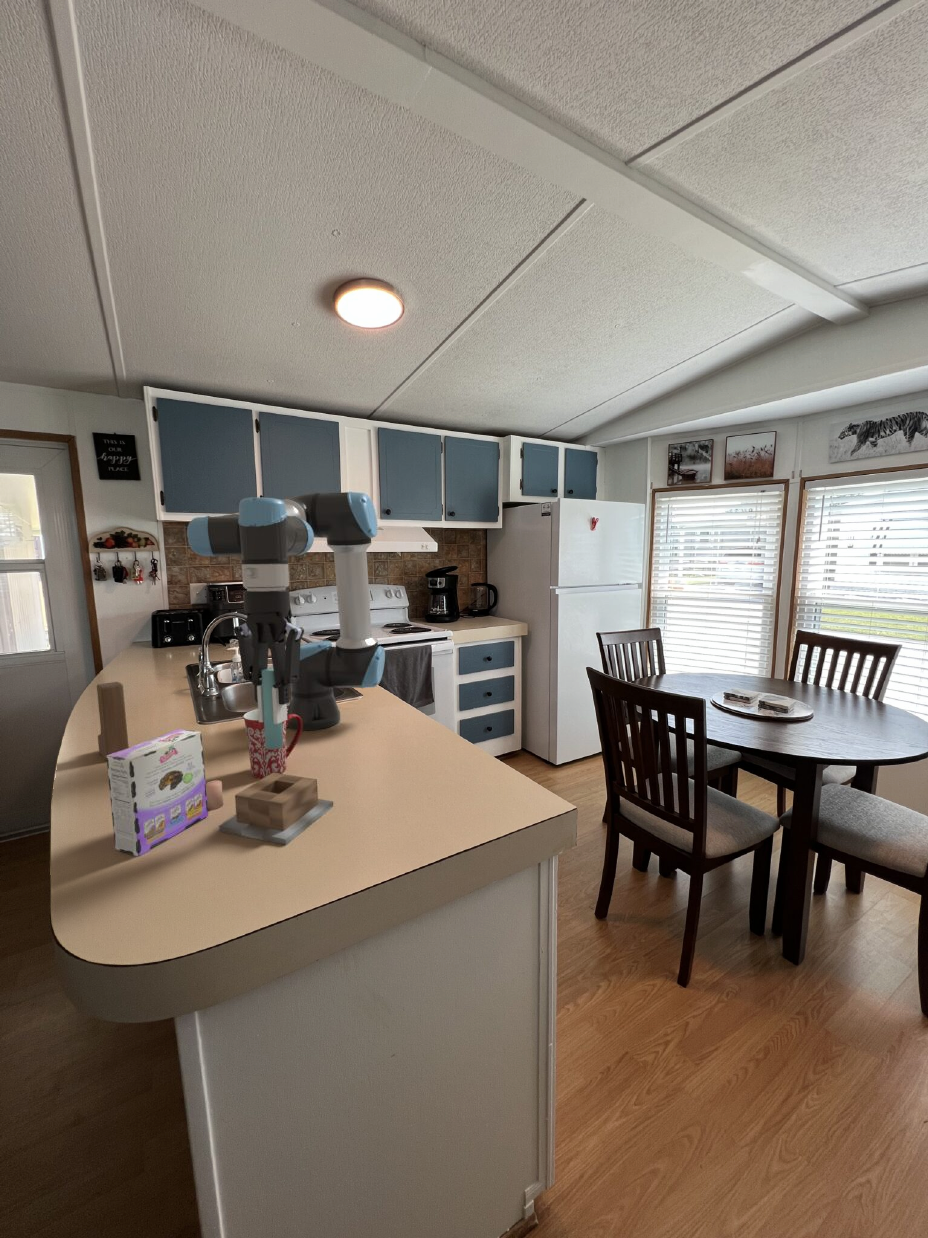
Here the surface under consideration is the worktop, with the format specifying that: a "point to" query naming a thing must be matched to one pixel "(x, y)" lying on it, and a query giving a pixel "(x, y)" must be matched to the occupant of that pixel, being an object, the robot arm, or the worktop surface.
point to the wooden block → (112, 718)
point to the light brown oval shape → (214, 794)
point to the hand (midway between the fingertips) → (273, 720)
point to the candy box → (156, 790)
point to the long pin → (270, 713)
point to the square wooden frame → (276, 808)
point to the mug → (259, 756)
